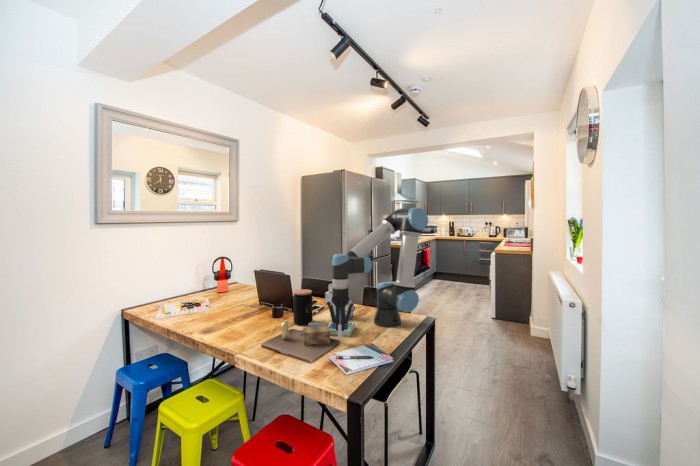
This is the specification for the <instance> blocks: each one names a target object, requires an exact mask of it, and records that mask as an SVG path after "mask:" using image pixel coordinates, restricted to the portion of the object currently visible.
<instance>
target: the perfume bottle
mask: <svg viewBox="0 0 700 466" xmlns="http://www.w3.org/2000/svg"><path fill="white" fill-rule="evenodd" d="M346 316H347V315H346V313H345V320H346ZM335 318H336V314H335ZM339 323H341V307H340V322H339ZM333 329H336V323H333ZM347 329H348V323H346V324H345V329H344V330H347Z"/></svg>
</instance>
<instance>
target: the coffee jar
mask: <svg viewBox="0 0 700 466" xmlns="http://www.w3.org/2000/svg"><path fill="white" fill-rule="evenodd" d="M292 293H293V296H292V299H293V300H292V301H293V304H292V305H293V308H292V309H293V323H294V324H295V325H296V326H302V327H303V326H308V324H309V323H313V295H312V293H313V290H311V289H307V288H306V289H303V288H302V289H301V288H300V289H296V290H294V291H292Z"/></svg>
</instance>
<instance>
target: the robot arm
mask: <svg viewBox="0 0 700 466" xmlns="http://www.w3.org/2000/svg"><path fill="white" fill-rule="evenodd" d="M428 225H429V216H428V214H427V213H426V211H425V210H424V209H423V208H421V207H407V208H399V209H396V210H394V211H393V212H392V213H390V214H388V216H387V217H385V218H383V220H382V221H381V224H380V225H378V226H377V227H376V228H375V229H374V230H372V232H370V233H369V234H368V235H367V236H365V238H363V239H362V240H361V241H359V243H357V244H356V245H355V246H354V247H353V248H352V249H350V250H349V251H348V252H347V253H335V254H333V256H332V261H331V265H332V268H331V269H332V281H331V282H332V283H331V284H332V286H333V288H332V299H331V300H330V301H328V302H327V305H326V306H327V307H328V310H329V313H330V314H329V315H330V318H331V321H332V322H333V323H336V331H338V336H337V339H339V340H340V339H343V337H344V336H343V331H344V329H345V324H346V323H348V322H350V320H349V317H350V313H351V309H352V306H355V302H354V301H353V302H351V301H350V300H351V299H350V298H349V279H350V278H349V276H350V275H353V274H365V273H366V274H367V273H370V272H371V271H372V268H373V263H372V260H371V258H370V257H368V256H367V255H368V254H369V253H371V252H372V251H373V250H374V249H376V247H377V246H379V245H380V244H381V243H382V242H383V241H385V240H386V239H387V238H388V237H389V236H390V235H394V234H395V233H397V232H399V234H401V242H400V250H399V256H398V257H399V258H398V266H397V273H396V274H397V275H396V280H395V281H382V282H378V283H377V285H376V311H375V315H374V317H373V323H374V324H375V325H377V326H378V327H385V328H392V327H393V328H394V327H398V326H400V325H401V324H402V318H401V315H400V312H403V313H411V312H413V311H414V309H416V308H417V307H418V305H419V301H420V299H419V298H420V297H419V294H418V293H417V292H416V285H415V284H414V279H415V278H414V277H415V270H416V263H417V261H416V260H417V253H418V244H419V238H420V237H421V236H422V235H423V230H425V229H426V228H427V226H428ZM366 256H367V257H366ZM332 302H333V303H332ZM348 303H349V304H348ZM332 304H334V305H335V306H336V318H335V314H334V309H333V305H332ZM347 304H348V306H349V308H348V312H347V316H346V320H345V306H346V305H347ZM340 307H341V323H339V322H340Z"/></svg>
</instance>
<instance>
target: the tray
mask: <svg viewBox="0 0 700 466" xmlns="http://www.w3.org/2000/svg"><path fill="white" fill-rule="evenodd" d="M327 326H328V327H329V330H330V337H331V336H333V337H338V331H336V329H333V322H332V320H331V321H330V322H329V323H328V325H327ZM355 329H356V321H348V329H347V330H344V331H343V337H346V338H347V337H349V338H350V337H351V335H352V334H353V332H354V330H355Z"/></svg>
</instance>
